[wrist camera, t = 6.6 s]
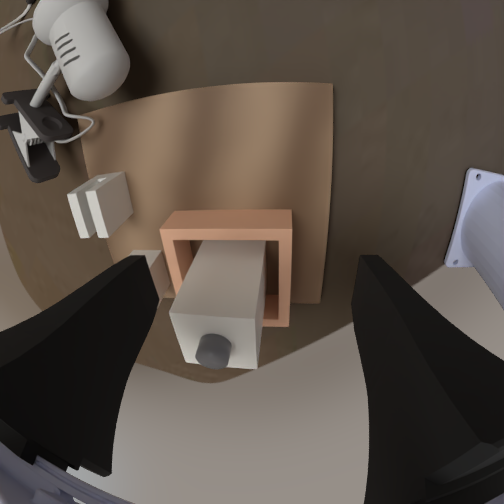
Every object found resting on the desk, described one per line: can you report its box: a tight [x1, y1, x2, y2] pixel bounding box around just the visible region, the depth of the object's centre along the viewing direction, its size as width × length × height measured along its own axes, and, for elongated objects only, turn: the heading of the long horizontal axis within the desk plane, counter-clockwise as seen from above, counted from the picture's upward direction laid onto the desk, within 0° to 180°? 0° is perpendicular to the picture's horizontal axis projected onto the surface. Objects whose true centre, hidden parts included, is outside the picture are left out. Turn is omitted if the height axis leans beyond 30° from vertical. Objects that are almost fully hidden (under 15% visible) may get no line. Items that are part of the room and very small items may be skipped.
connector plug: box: [169, 240, 267, 369], centre depth 16 cm, size 4×4×8 cm
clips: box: [67, 171, 170, 308], centre depth 17 cm, size 4×9×3 cm, turn 3°
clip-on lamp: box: [0, 0, 130, 183], centre depth 10 cm, size 12×6×18 cm
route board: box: [78, 82, 333, 303], centre depth 18 cm, size 16×15×1 cm
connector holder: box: [159, 209, 292, 327], centre depth 18 cm, size 7×7×2 cm
